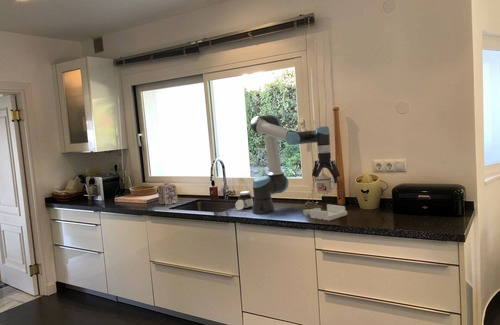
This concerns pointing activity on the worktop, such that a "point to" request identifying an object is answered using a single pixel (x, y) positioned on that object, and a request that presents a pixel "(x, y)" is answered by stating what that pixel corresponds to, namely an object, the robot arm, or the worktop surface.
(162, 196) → the decorative jar
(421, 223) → the worktop surface
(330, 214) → the end holder
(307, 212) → the clip
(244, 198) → the spread jar
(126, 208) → the worktop surface
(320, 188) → the teacup with lid
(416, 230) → the worktop surface
